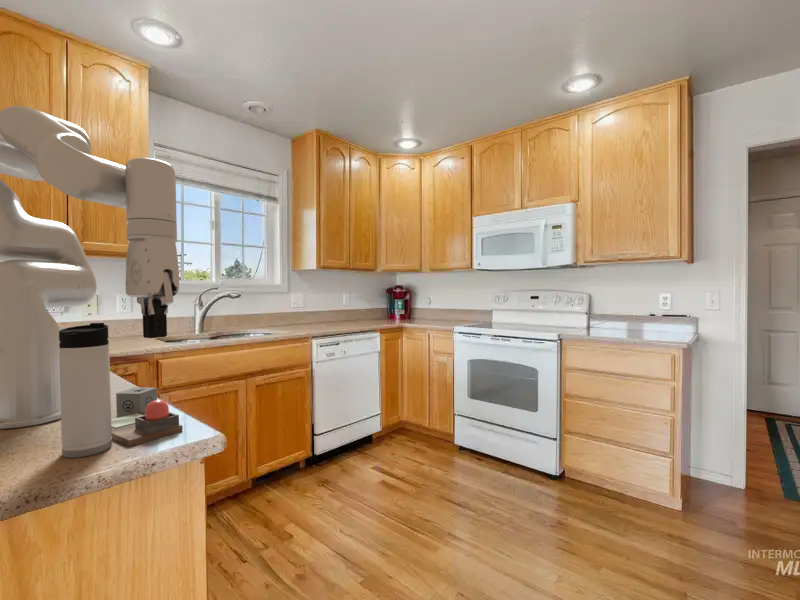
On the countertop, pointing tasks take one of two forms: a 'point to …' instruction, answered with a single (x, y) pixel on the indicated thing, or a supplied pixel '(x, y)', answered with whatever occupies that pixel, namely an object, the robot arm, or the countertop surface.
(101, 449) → the travel mug
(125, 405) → the grey sad face cube
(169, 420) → the button base
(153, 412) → the dome
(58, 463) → the countertop surface
